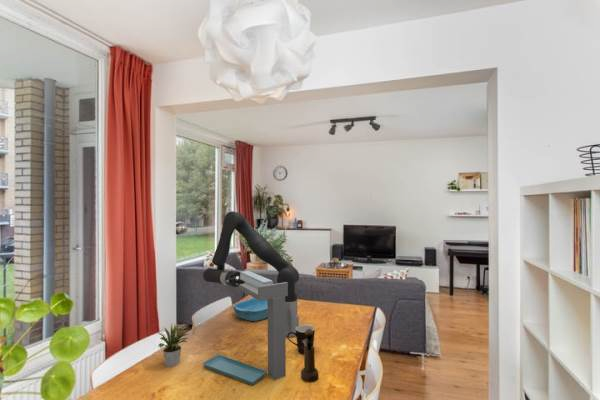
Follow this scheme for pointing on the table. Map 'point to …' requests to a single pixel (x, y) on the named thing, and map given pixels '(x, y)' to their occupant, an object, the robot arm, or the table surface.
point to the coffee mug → (302, 337)
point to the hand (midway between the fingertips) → (251, 281)
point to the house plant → (172, 346)
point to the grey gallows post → (273, 323)
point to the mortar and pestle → (309, 360)
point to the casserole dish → (252, 309)
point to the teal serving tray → (235, 369)
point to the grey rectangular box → (254, 279)
